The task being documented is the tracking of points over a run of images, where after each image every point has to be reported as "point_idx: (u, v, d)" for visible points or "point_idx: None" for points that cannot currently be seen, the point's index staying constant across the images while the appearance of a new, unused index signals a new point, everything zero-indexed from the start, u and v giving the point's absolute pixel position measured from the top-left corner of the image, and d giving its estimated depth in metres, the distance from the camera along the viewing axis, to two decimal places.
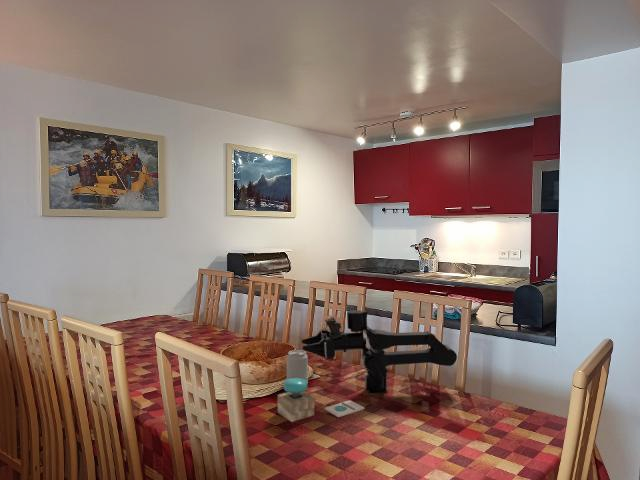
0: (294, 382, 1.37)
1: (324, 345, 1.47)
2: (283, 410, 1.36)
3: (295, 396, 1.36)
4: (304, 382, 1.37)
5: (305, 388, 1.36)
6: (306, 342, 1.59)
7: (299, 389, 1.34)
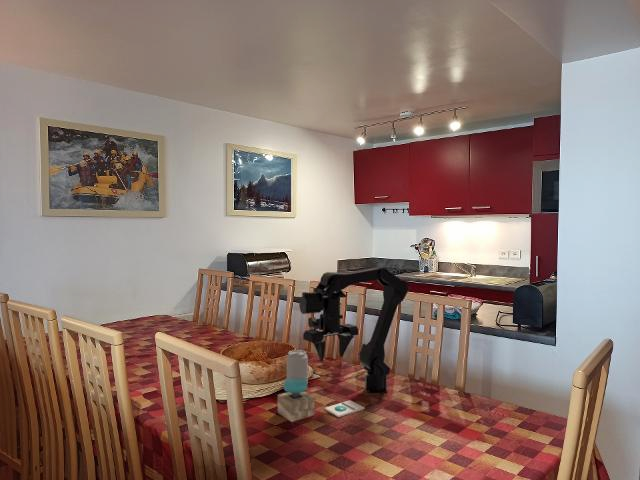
0: (294, 382, 1.37)
1: None
2: (283, 410, 1.36)
3: (295, 396, 1.36)
4: (304, 382, 1.37)
5: (305, 388, 1.36)
6: (341, 352, 1.51)
7: (299, 389, 1.34)
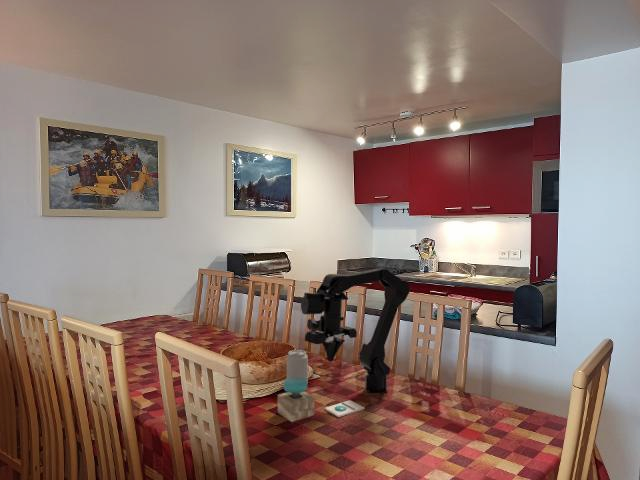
0: (294, 382, 1.37)
1: None
2: (283, 410, 1.36)
3: (295, 396, 1.36)
4: (304, 382, 1.37)
5: (305, 388, 1.36)
6: None
7: (299, 389, 1.34)
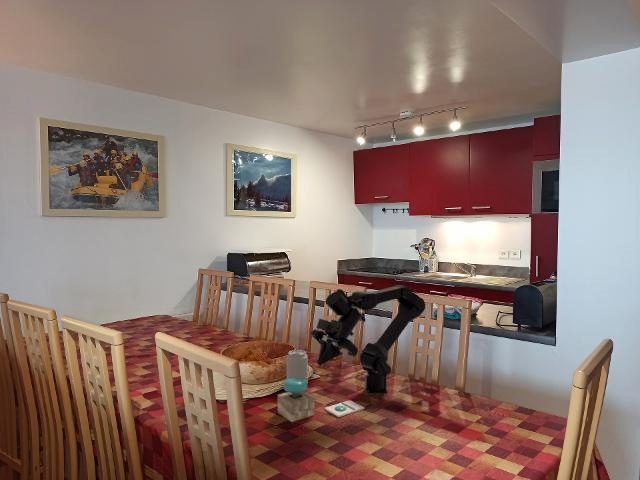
0: (294, 382, 1.37)
1: (335, 346, 1.41)
2: (283, 410, 1.36)
3: (295, 396, 1.36)
4: (304, 382, 1.37)
5: (305, 388, 1.36)
6: None
7: (299, 389, 1.34)
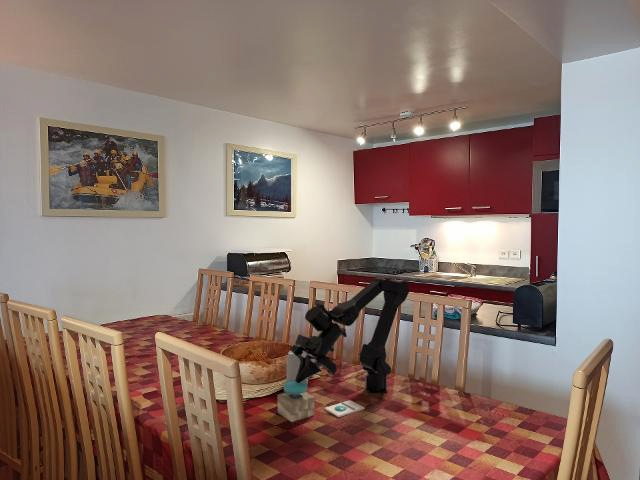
0: (294, 383, 1.37)
1: (314, 363, 1.37)
2: (283, 410, 1.36)
3: (295, 397, 1.36)
4: (304, 383, 1.37)
5: (305, 389, 1.36)
6: None
7: (299, 390, 1.34)
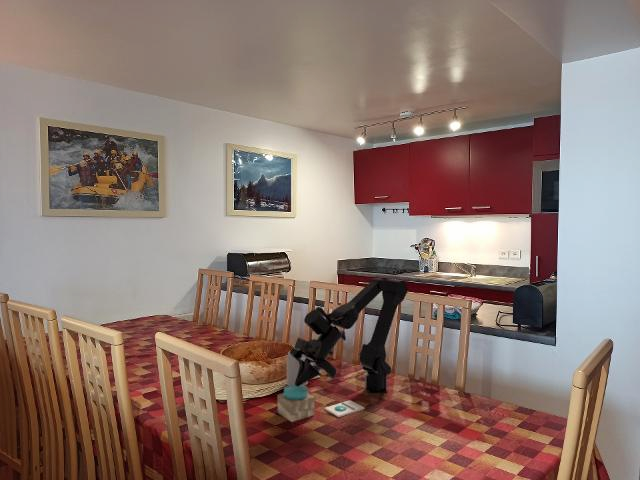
0: (295, 389, 1.37)
1: (313, 367, 1.37)
2: (283, 410, 1.36)
3: None
4: (304, 389, 1.37)
5: (305, 395, 1.36)
6: None
7: (299, 396, 1.34)
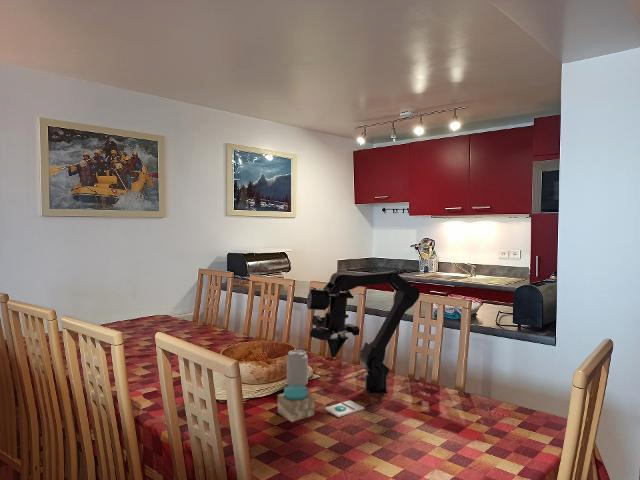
0: (295, 389, 1.37)
1: None
2: (283, 410, 1.36)
3: None
4: (304, 389, 1.37)
5: (305, 395, 1.36)
6: None
7: (299, 396, 1.34)
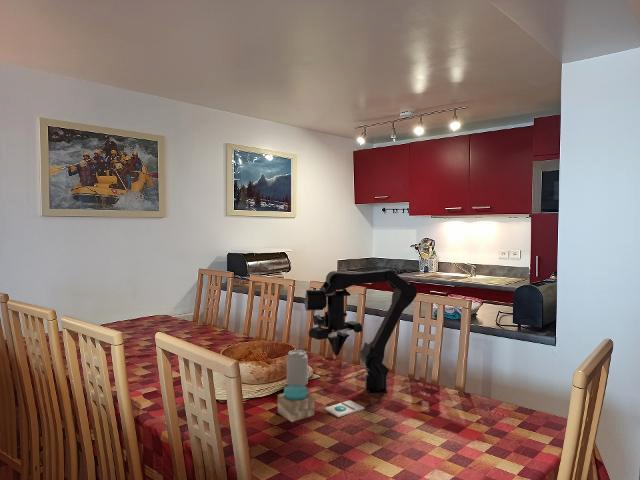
0: (295, 389, 1.37)
1: None
2: (283, 410, 1.36)
3: None
4: (304, 389, 1.37)
5: (305, 395, 1.36)
6: None
7: (299, 396, 1.34)
